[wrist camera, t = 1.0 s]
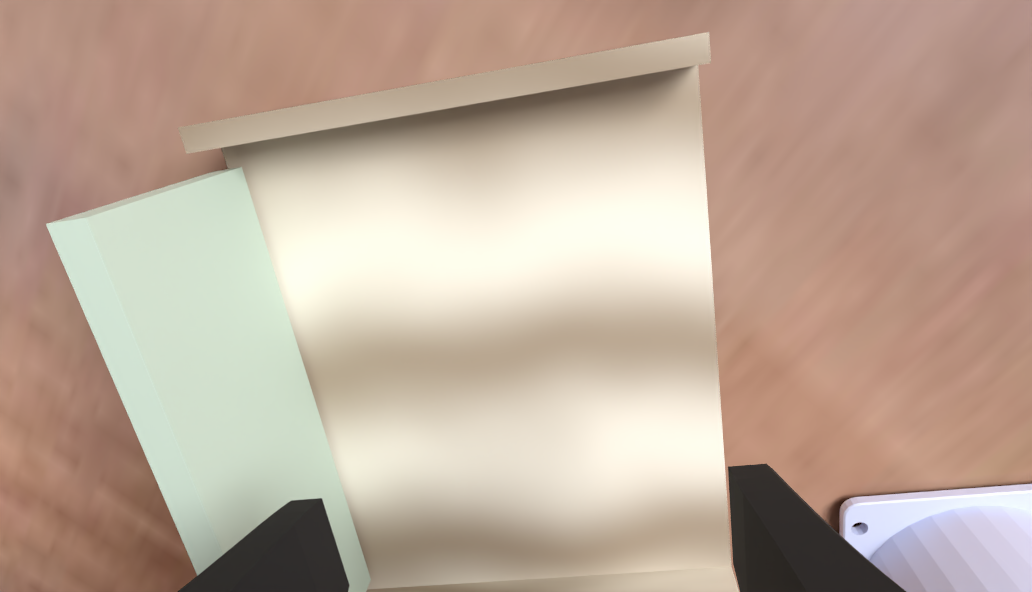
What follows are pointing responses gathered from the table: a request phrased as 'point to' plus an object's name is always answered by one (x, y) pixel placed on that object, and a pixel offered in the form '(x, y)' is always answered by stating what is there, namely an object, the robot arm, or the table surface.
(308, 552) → the robot arm
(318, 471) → the panel
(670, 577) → the cart bed
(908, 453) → the table surface
